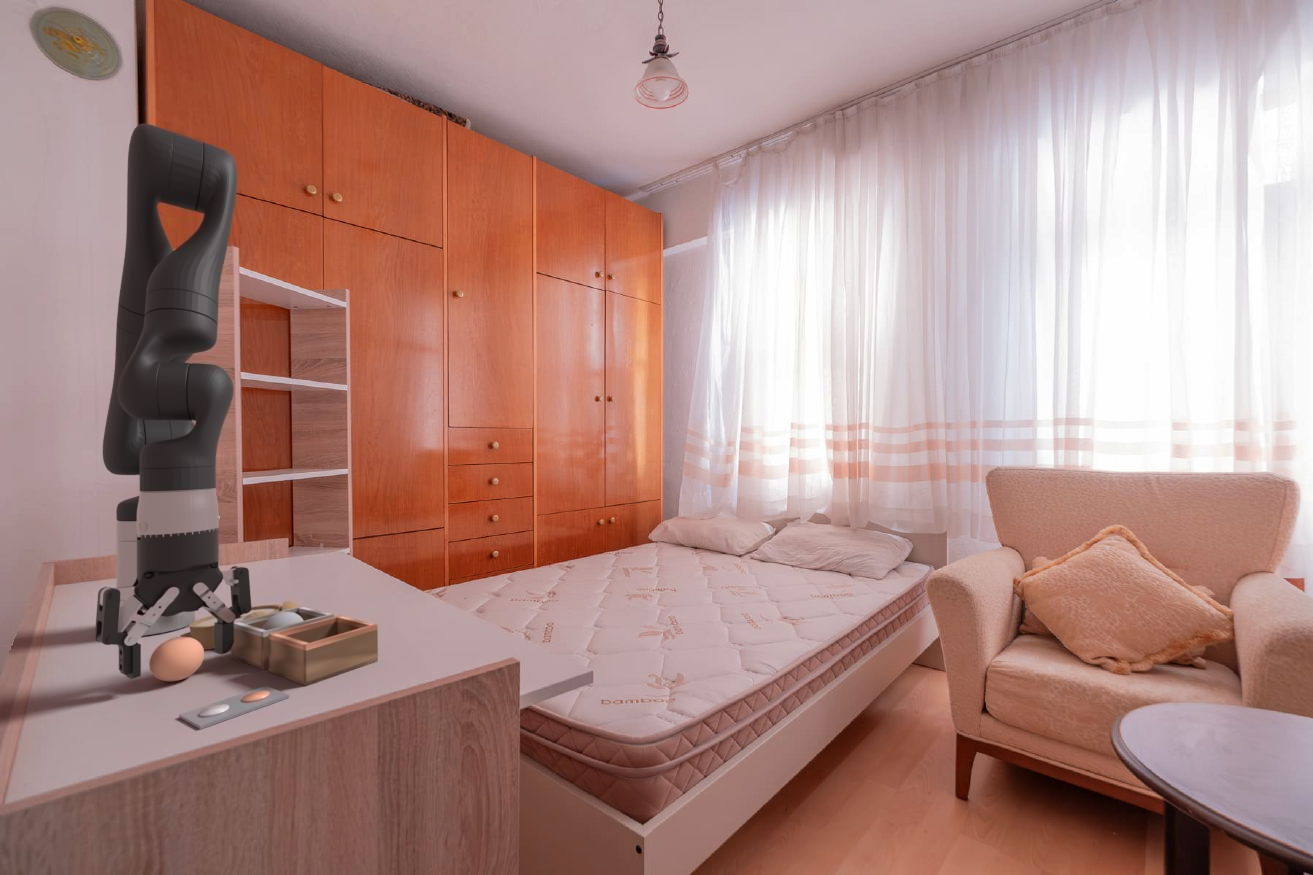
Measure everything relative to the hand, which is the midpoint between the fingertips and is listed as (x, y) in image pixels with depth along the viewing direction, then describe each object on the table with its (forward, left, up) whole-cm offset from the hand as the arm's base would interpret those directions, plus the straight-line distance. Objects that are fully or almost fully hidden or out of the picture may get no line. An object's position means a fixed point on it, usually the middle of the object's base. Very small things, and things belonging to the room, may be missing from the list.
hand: (179, 664), depth 67 cm
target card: (+15, 0, -2) cm, 15 cm away
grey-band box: (+1, +11, -2) cm, 11 cm away
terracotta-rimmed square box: (+11, +11, -2) cm, 16 cm away
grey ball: (+1, +11, +1) cm, 11 cm away
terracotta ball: (0, 0, +1) cm, 1 cm away
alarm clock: (-11, +12, -2) cm, 16 cm away
